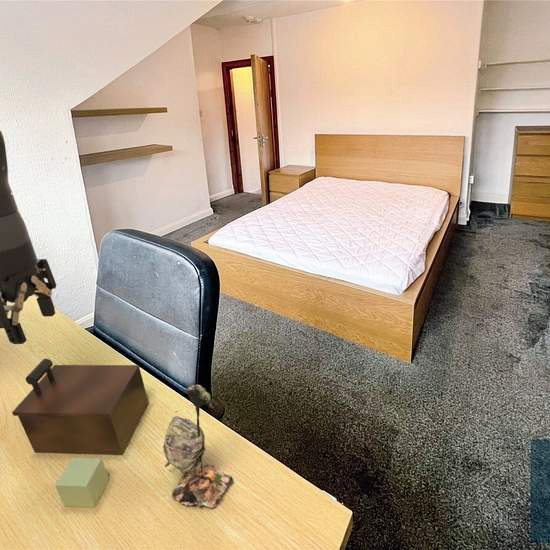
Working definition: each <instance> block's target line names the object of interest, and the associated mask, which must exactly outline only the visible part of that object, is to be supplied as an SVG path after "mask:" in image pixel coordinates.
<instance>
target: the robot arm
mask: <svg viewBox="0 0 550 550" xmlns="http://www.w3.org/2000/svg"><path fill="white" fill-rule="evenodd" d="M45 279H46V280H47V281H46V280H45ZM56 288H57V283H56V280H55V277H54V274H53V272H52V269H51V267H50V264H49V261H48V259H47V258H37V254H36V251H35V248H34V245H33V243H32V240H31V237H30V234H29V231H28V229H27V225H26V222H25V221H24V218H23V217H22V215H21V213H20V210H19V208H18V205H17V202H16V198H15V196H14V194H13V190H12V188H11V185H10V182H9V166H8V156H7V147H6V143H5V138H4V134H3V132H2V129H1V128H0V329H4V331H5V334H6V336H7V339H8V341H9V343H11V344H13V345H24V344H25V343H26V342H27V337H26V334H25V332H24V330H23V327H22V324H21V322H19V319H20V313H21V311H23V309H24V303H25V302H26V301H27V300H28V299H29V297H33V296H35V297H36V302H37V305H38V307H39V311H40V313H41V316H43V317H45V318H47V317H54V316H55V314H56V311H55V304H54V303H53V299H52V294H53V292H52V291H53V290H54V289H56ZM8 302H9V303H12V305H8ZM9 312H10V317H9Z"/></svg>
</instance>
